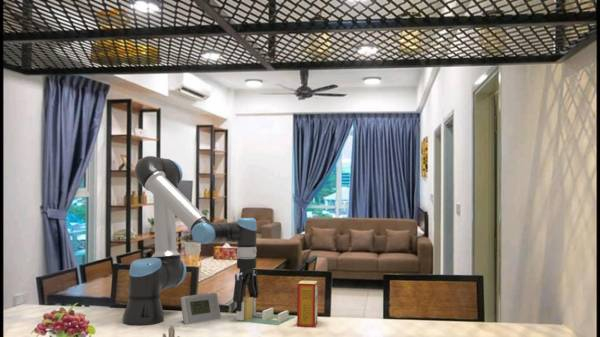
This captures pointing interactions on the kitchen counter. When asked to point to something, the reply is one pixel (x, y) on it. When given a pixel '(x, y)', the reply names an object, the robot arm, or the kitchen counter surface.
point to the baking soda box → (307, 303)
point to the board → (268, 317)
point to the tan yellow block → (247, 307)
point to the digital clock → (200, 308)
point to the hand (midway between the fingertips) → (246, 317)
